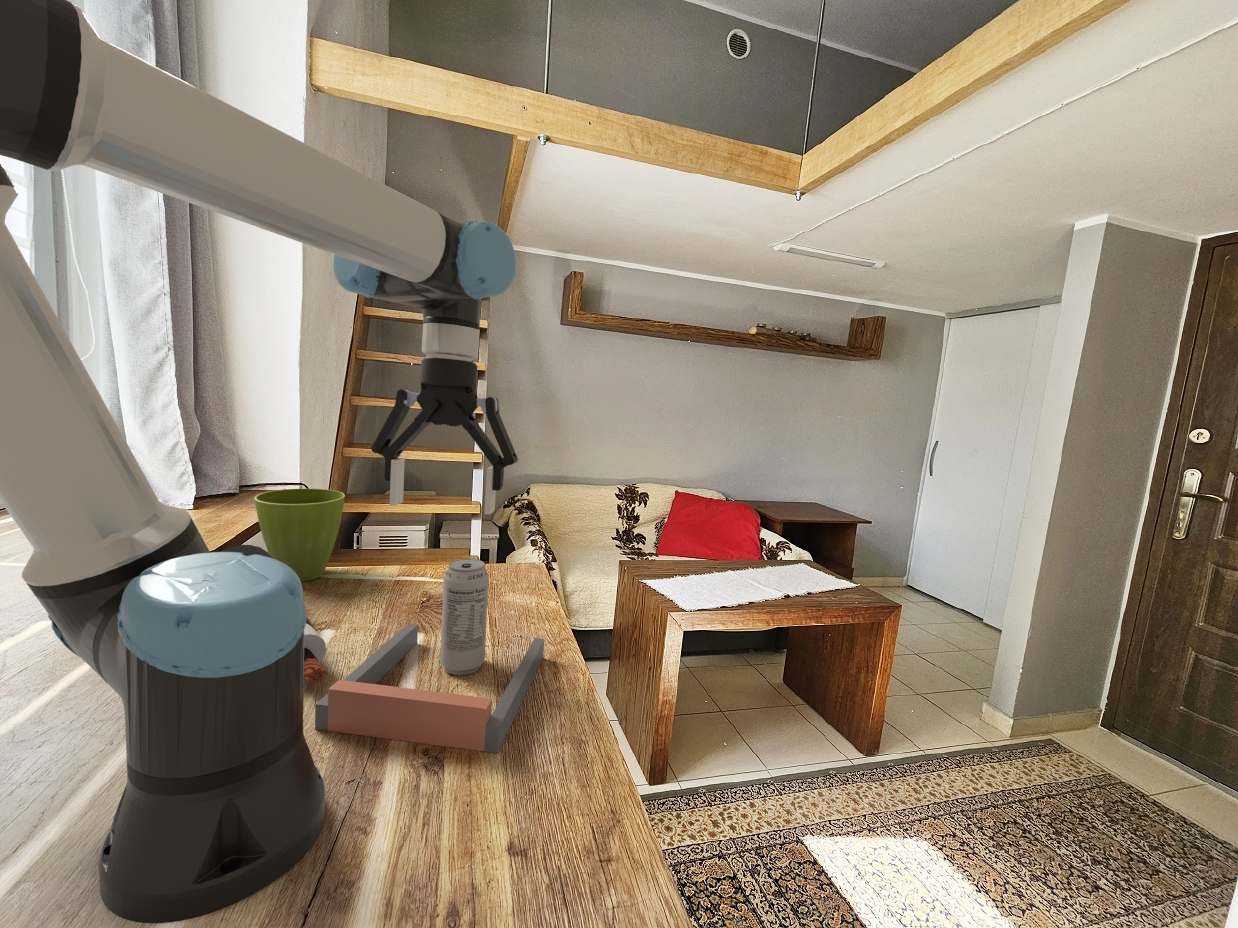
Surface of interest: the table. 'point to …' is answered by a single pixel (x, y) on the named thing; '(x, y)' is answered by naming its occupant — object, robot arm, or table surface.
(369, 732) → the guide lane
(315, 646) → the cable
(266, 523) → the flower pot
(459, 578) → the energy drink can
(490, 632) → the table surface
